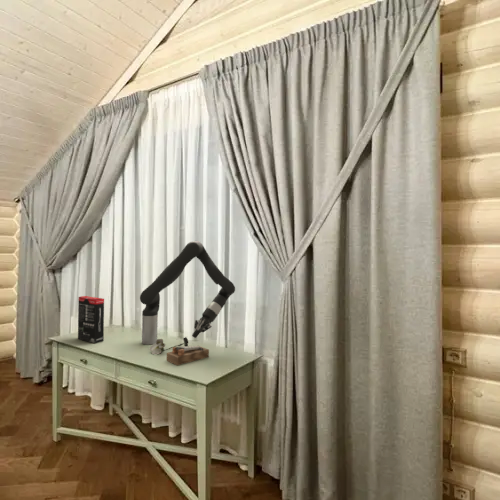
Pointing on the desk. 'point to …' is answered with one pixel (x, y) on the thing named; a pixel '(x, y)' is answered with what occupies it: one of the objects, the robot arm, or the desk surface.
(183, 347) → the lever
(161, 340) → the artificial flower
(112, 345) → the desk surface
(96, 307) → the graphics card box
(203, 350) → the lever base
